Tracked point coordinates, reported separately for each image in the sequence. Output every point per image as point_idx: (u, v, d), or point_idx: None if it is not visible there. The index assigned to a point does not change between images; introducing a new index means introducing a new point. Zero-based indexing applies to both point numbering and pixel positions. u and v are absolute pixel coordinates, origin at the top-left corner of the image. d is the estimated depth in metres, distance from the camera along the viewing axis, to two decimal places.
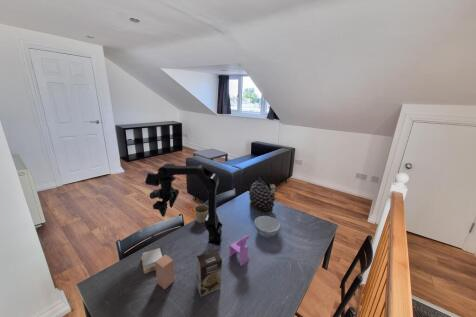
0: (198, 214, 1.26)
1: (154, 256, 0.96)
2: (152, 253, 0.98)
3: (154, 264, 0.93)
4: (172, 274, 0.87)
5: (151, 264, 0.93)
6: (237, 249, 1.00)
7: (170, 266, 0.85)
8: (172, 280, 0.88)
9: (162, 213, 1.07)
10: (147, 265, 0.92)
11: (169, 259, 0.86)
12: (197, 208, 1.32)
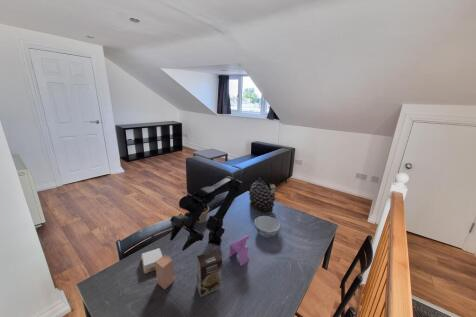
0: None
1: (154, 257, 0.96)
2: (151, 253, 0.98)
3: (153, 264, 0.93)
4: (172, 274, 0.87)
5: (151, 264, 0.93)
6: (237, 249, 1.00)
7: (170, 266, 0.85)
8: (172, 280, 0.88)
9: (187, 245, 0.89)
10: (147, 265, 0.92)
11: (169, 259, 0.86)
12: None
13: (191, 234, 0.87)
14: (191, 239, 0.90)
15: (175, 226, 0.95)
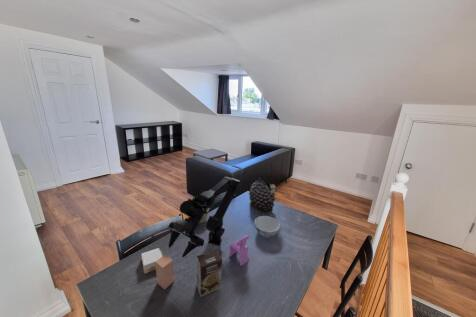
0: None
1: (153, 256, 0.96)
2: (151, 253, 0.98)
3: (153, 264, 0.93)
4: (172, 274, 0.87)
5: (151, 264, 0.93)
6: (237, 249, 1.00)
7: (170, 266, 0.85)
8: (172, 280, 0.88)
9: (187, 252, 0.87)
10: (146, 265, 0.92)
11: (169, 259, 0.86)
12: None
13: (192, 239, 0.86)
14: (191, 245, 0.88)
15: (174, 232, 0.93)
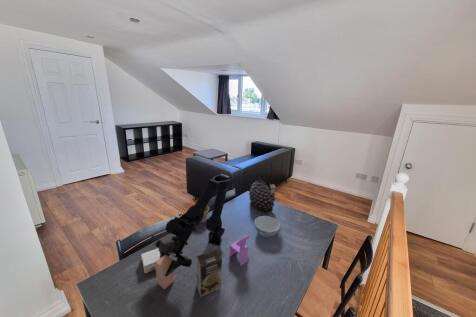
0: None
1: (153, 257, 0.96)
2: (151, 253, 0.97)
3: (153, 264, 0.93)
4: (172, 274, 0.87)
5: (151, 265, 0.92)
6: (237, 249, 1.00)
7: None
8: (172, 280, 0.88)
9: (171, 270, 0.84)
10: (147, 266, 0.91)
11: (169, 259, 0.86)
12: None
13: (178, 261, 0.82)
14: (175, 263, 0.85)
15: (163, 253, 0.88)
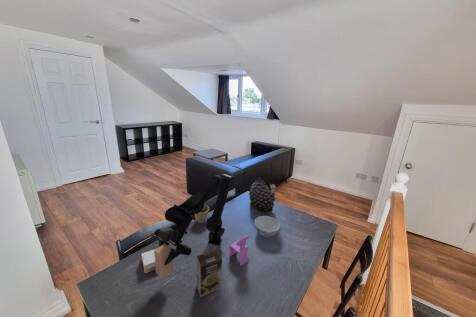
0: (198, 214, 1.26)
1: (153, 256, 0.96)
2: (151, 253, 0.98)
3: (153, 264, 0.93)
4: (171, 263, 0.85)
5: (151, 264, 0.93)
6: (237, 249, 1.00)
7: None
8: (171, 270, 0.86)
9: (170, 259, 0.82)
10: (146, 265, 0.92)
11: (168, 248, 0.84)
12: None
13: (178, 249, 0.80)
14: (174, 252, 0.83)
15: (162, 242, 0.86)
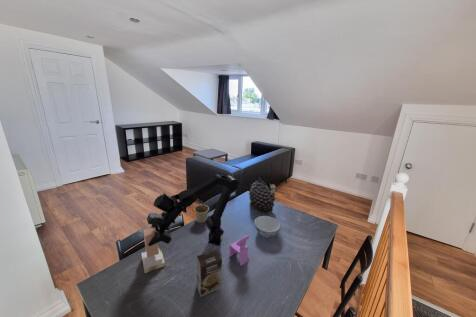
0: (198, 214, 1.26)
1: (153, 256, 0.96)
2: None
3: (153, 263, 0.93)
4: (156, 246, 0.93)
5: (151, 264, 0.93)
6: (237, 249, 1.00)
7: None
8: (156, 252, 0.94)
9: (153, 242, 0.90)
10: (146, 265, 0.92)
11: (154, 231, 0.92)
12: (197, 208, 1.32)
13: (157, 234, 0.86)
14: None
15: (153, 225, 0.95)
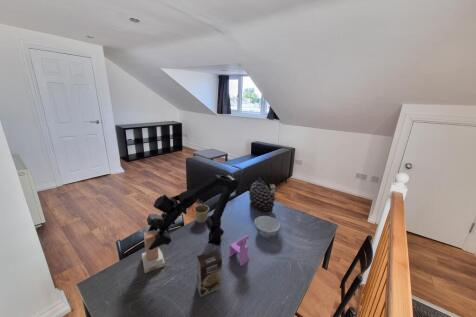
0: (198, 214, 1.26)
1: None
2: None
3: (153, 264, 0.93)
4: (156, 249, 0.94)
5: (151, 264, 0.93)
6: (237, 249, 1.00)
7: (153, 241, 0.92)
8: (156, 255, 0.95)
9: (154, 246, 0.89)
10: (147, 265, 0.92)
11: (154, 234, 0.93)
12: (197, 208, 1.32)
13: (157, 235, 0.87)
14: None
15: None
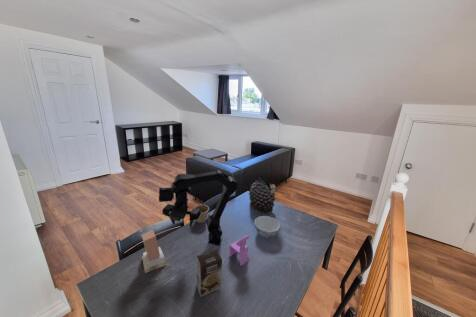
0: None
1: None
2: None
3: (155, 262, 0.94)
4: (157, 249, 0.94)
5: (153, 263, 0.94)
6: (237, 249, 1.00)
7: (153, 241, 0.92)
8: (157, 254, 0.95)
9: (192, 222, 1.04)
10: (149, 264, 0.92)
11: (153, 234, 0.92)
12: (197, 208, 1.32)
13: (192, 217, 0.99)
14: None
15: None
